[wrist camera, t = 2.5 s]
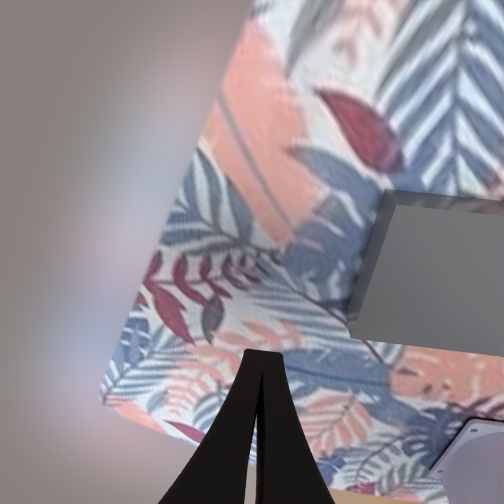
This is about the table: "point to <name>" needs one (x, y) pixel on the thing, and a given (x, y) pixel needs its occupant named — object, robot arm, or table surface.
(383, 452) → the table surface
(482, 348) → the slate tile
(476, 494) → the robot arm
